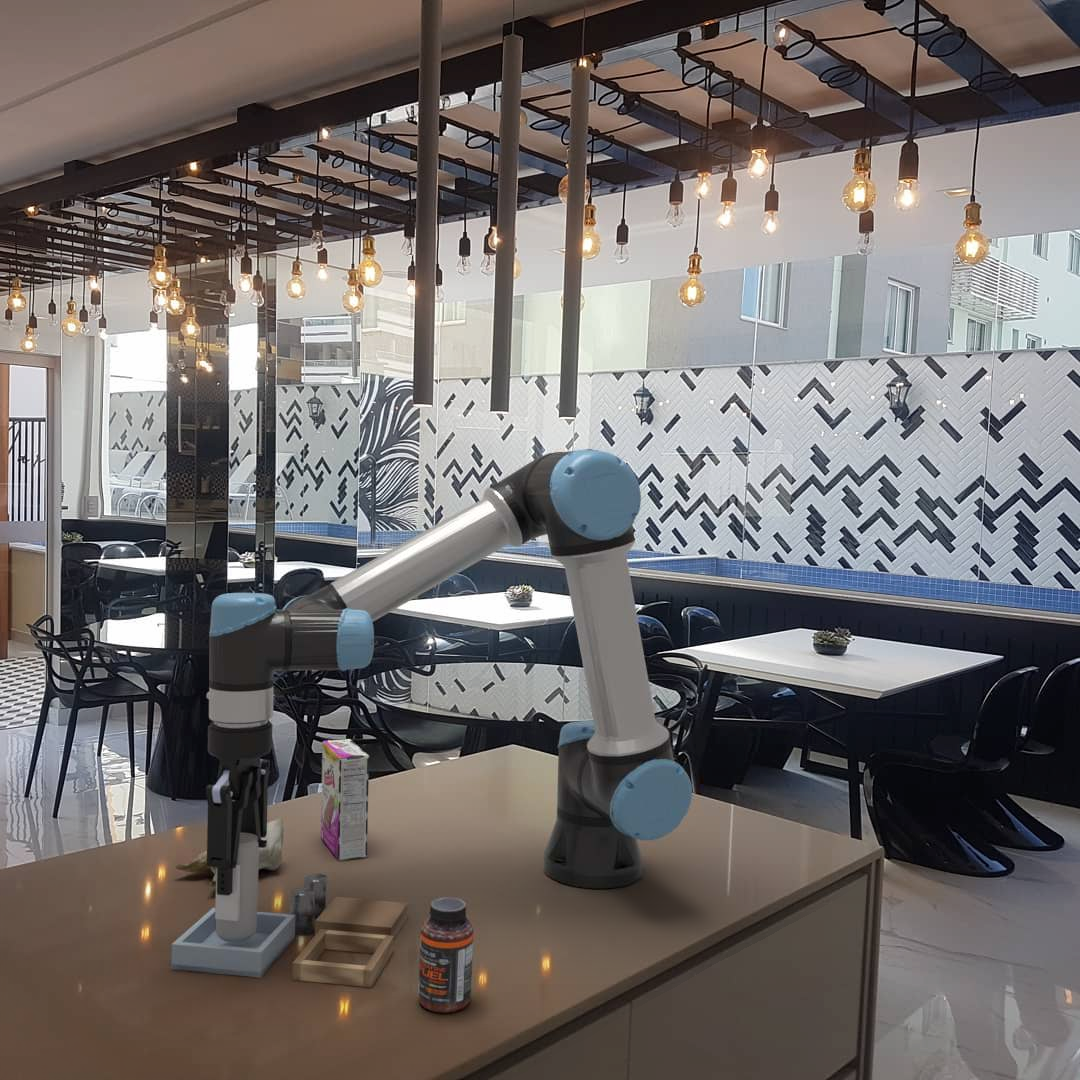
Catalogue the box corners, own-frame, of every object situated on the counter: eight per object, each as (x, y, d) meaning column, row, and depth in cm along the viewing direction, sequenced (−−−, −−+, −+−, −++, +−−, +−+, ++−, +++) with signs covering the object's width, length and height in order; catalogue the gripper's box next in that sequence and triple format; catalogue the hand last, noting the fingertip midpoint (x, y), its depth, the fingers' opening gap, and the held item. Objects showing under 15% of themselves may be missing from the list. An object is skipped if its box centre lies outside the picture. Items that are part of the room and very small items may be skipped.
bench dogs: (329, 911, 140) (330, 874, 140) (308, 935, 132) (309, 897, 132) (308, 909, 140) (309, 873, 140) (286, 933, 132) (287, 895, 132)
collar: (393, 951, 128) (393, 935, 128) (371, 987, 119) (371, 970, 119) (319, 944, 129) (320, 929, 129) (292, 979, 120) (292, 962, 120)
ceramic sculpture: (302, 815, 153) (210, 844, 142) (304, 872, 153) (213, 905, 142) (261, 800, 160) (171, 826, 149) (263, 854, 161) (174, 885, 150)
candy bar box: (318, 839, 168) (321, 740, 168) (348, 836, 171) (351, 737, 170) (336, 862, 158) (339, 756, 158) (368, 858, 161) (371, 754, 160)
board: (407, 921, 139) (407, 903, 139) (390, 946, 131) (391, 927, 131) (335, 914, 140) (336, 896, 140) (314, 939, 132) (315, 920, 132)
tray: (294, 938, 131) (295, 914, 131) (260, 977, 120) (261, 952, 120) (212, 930, 133) (213, 907, 132) (171, 969, 122) (171, 944, 122)
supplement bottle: (407, 1007, 115) (410, 907, 114) (434, 985, 120) (437, 889, 120) (455, 1020, 112) (458, 917, 112) (480, 996, 118) (483, 899, 117)
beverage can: (244, 945, 124) (247, 847, 123) (208, 941, 124) (210, 843, 124) (263, 929, 128) (265, 834, 128) (227, 925, 129) (229, 830, 129)
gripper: (241, 704, 135) (238, 880, 136) (176, 735, 117) (172, 937, 118) (296, 708, 134) (292, 885, 135) (239, 739, 116) (235, 943, 117)
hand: (236, 909), depth 126 cm, fingers closed on beverage can, 5 cm apart
